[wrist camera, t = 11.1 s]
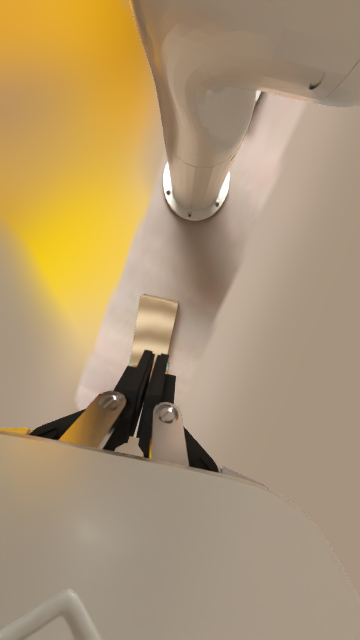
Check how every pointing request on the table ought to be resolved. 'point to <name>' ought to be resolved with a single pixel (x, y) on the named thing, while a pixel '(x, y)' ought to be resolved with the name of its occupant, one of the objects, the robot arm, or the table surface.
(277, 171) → the table surface
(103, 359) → the table surface
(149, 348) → the sheet
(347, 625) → the robot arm
